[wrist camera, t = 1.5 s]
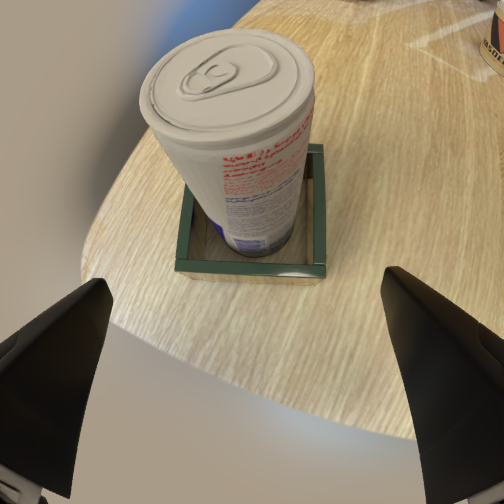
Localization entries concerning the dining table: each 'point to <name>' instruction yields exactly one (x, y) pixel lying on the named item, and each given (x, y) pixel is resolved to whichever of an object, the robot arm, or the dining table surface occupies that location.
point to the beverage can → (236, 129)
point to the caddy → (249, 272)
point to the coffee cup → (495, 41)
